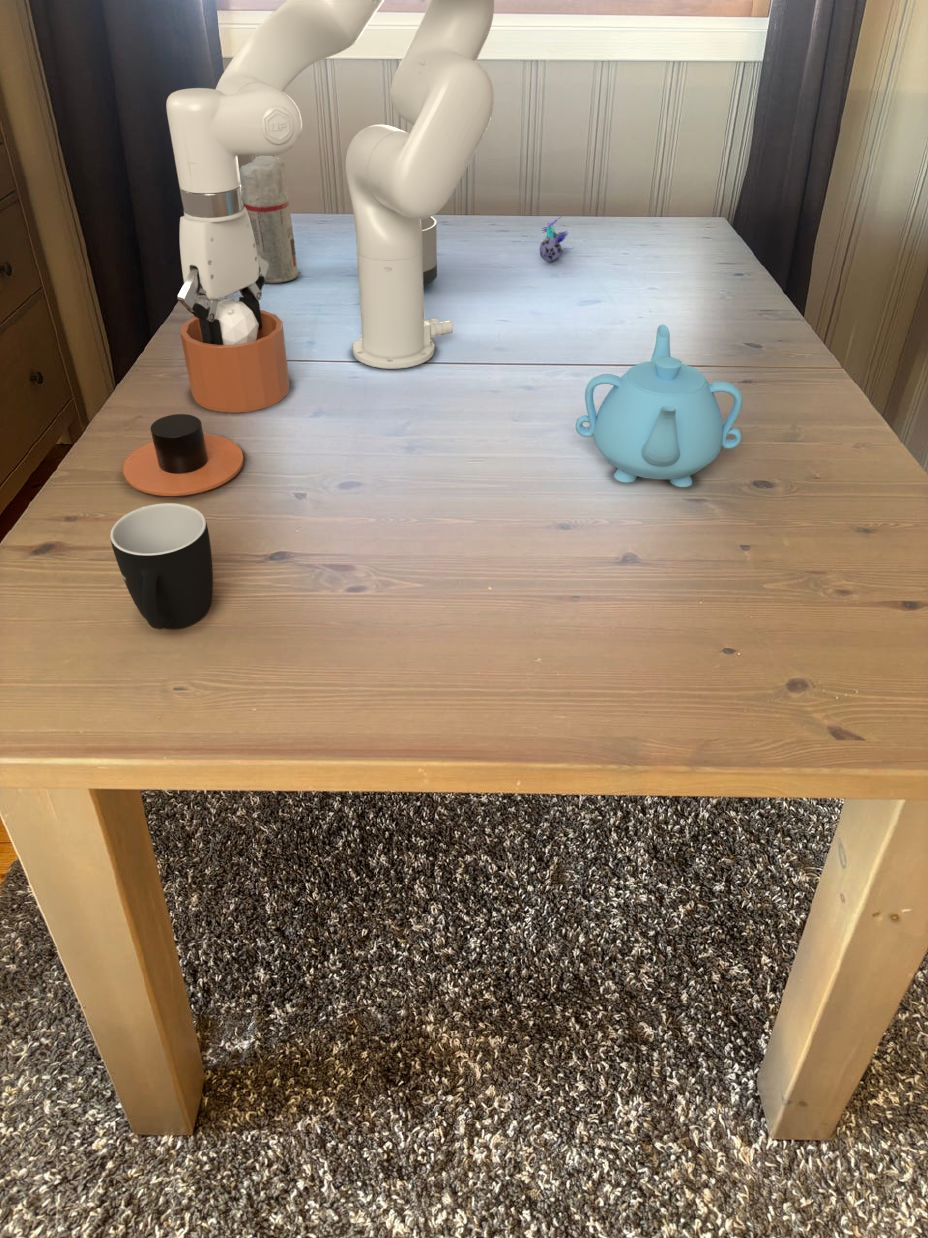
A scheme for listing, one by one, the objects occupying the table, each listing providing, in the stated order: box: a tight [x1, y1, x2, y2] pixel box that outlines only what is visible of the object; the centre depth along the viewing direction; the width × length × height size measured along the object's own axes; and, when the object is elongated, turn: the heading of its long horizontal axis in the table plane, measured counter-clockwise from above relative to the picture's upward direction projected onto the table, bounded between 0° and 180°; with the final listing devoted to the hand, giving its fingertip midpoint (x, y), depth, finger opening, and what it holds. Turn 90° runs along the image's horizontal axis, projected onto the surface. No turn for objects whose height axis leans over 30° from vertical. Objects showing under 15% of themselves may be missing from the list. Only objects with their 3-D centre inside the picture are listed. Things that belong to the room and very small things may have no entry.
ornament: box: [215, 298, 259, 345], centre depth 129 cm, size 7×7×8 cm
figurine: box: [539, 216, 573, 264], centre depth 180 cm, size 7×6×12 cm
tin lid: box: [122, 413, 244, 497], centre depth 116 cm, size 15×15×6 cm
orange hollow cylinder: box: [179, 309, 290, 414], centre depth 132 cm, size 14×14×10 cm
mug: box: [109, 502, 214, 630], centre depth 92 cm, size 12×9×10 cm
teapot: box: [575, 324, 744, 488], centre depth 115 cm, size 16×20×14 cm
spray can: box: [239, 155, 299, 284], centre depth 164 cm, size 8×8×20 cm
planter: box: [420, 216, 438, 287], centre depth 166 cm, size 13×13×10 cm
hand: (233, 335), depth 130 cm, fingers closed on ornament, 7 cm apart
